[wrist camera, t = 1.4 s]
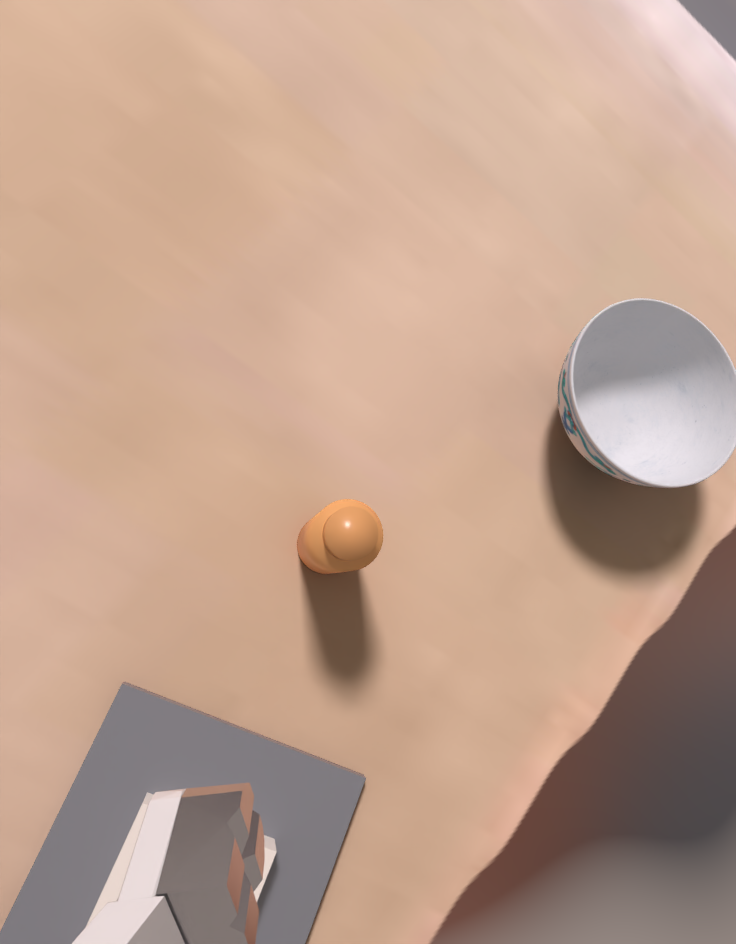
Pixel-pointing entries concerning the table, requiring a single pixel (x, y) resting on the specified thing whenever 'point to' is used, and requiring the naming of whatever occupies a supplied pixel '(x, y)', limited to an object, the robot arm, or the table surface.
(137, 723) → the holder
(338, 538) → the orange cylinder
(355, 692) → the table surface
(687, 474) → the chinaware
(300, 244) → the table surface
